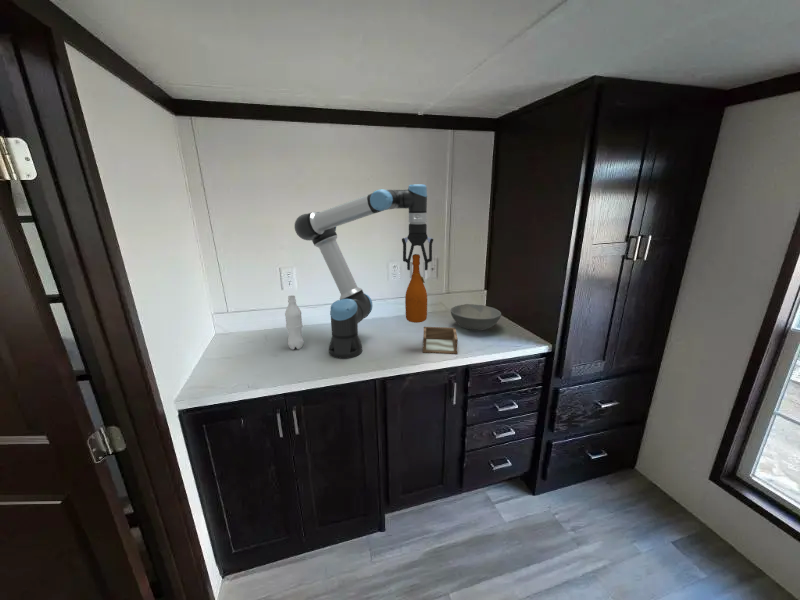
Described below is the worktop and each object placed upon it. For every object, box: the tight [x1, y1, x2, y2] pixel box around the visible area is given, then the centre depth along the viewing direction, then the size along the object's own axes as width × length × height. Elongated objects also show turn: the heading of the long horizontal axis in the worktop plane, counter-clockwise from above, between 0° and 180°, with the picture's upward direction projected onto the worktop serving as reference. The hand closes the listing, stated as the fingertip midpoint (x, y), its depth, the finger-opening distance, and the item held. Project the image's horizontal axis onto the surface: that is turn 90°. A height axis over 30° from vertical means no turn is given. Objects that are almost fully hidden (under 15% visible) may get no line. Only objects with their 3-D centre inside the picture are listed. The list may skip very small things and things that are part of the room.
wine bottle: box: [404, 253, 428, 324], centre depth 152 cm, size 10×10×30 cm
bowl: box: [450, 303, 502, 331], centre depth 185 cm, size 26×26×10 cm
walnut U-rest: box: [422, 326, 459, 355], centre depth 163 cm, size 16×16×7 cm
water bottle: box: [284, 295, 305, 351], centre depth 158 cm, size 7×7×25 cm
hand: (417, 277), depth 151 cm, fingers closed on wine bottle, 5 cm apart
